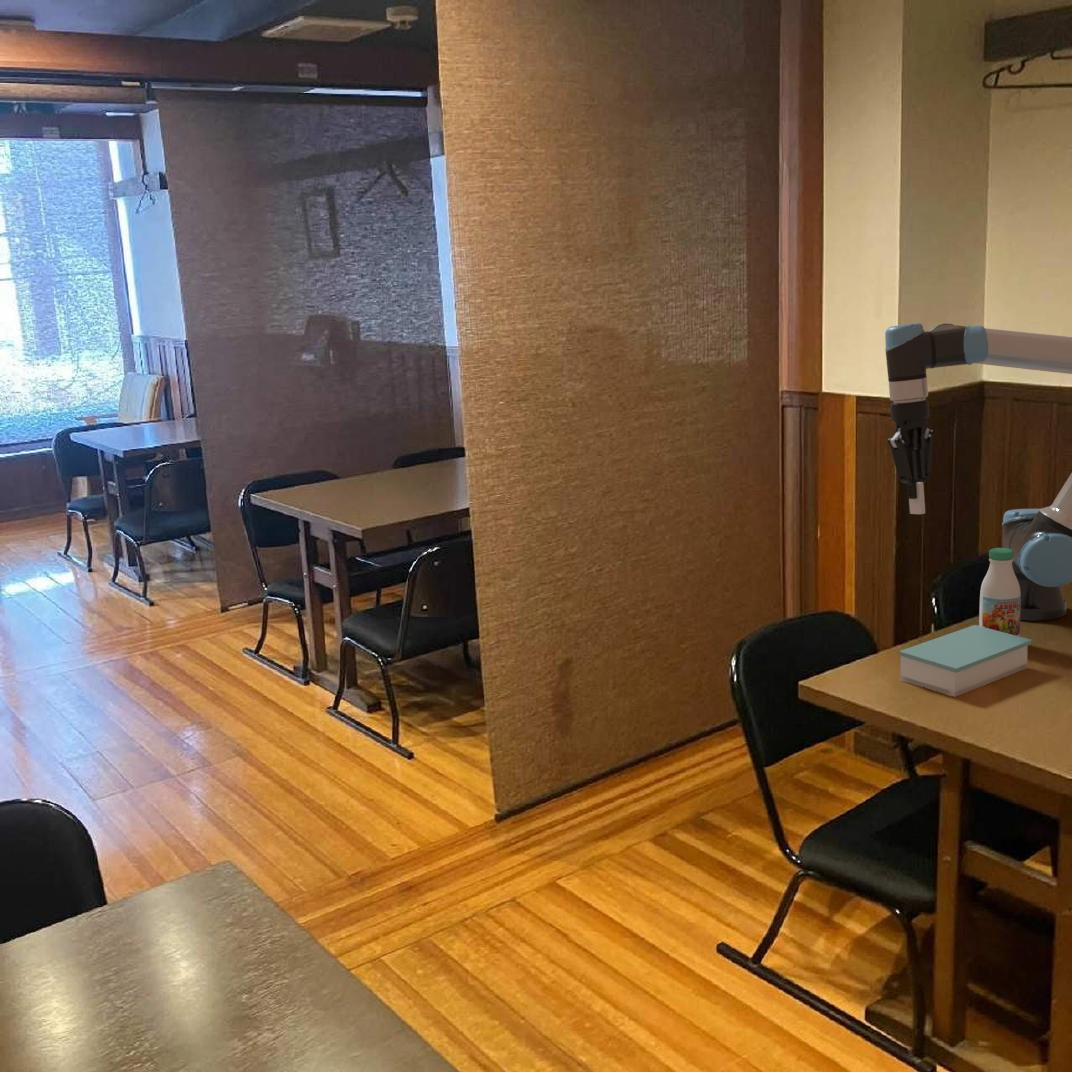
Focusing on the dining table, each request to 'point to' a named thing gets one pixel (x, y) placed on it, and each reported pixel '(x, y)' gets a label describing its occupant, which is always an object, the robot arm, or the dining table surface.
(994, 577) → the milk bottle
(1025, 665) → the white shallow box
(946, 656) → the cover
